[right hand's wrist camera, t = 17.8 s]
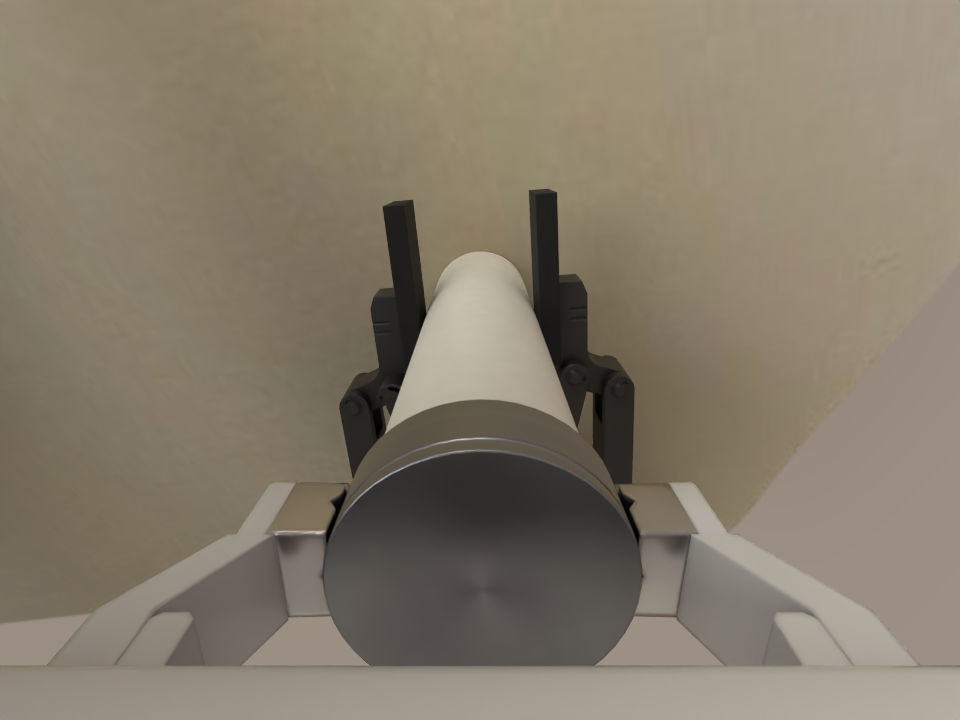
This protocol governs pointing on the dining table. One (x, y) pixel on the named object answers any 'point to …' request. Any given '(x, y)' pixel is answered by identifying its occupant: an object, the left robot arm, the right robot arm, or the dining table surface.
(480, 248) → the dining table surface
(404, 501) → the lid
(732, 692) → the right robot arm
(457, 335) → the white cylinder
